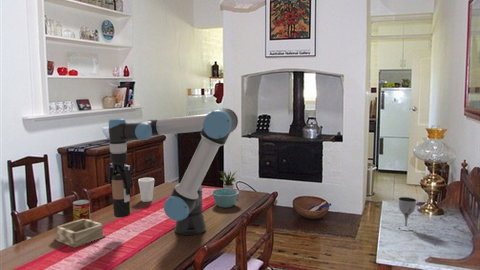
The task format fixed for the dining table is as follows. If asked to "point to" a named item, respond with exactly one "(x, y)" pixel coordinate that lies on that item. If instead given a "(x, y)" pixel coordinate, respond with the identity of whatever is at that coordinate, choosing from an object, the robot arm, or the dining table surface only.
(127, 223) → the dining table surface
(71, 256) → the dining table surface
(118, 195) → the travel mug
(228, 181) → the house plant
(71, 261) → the dining table surface
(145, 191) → the foam cup
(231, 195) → the bowl
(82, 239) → the caddy
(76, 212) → the canned food
